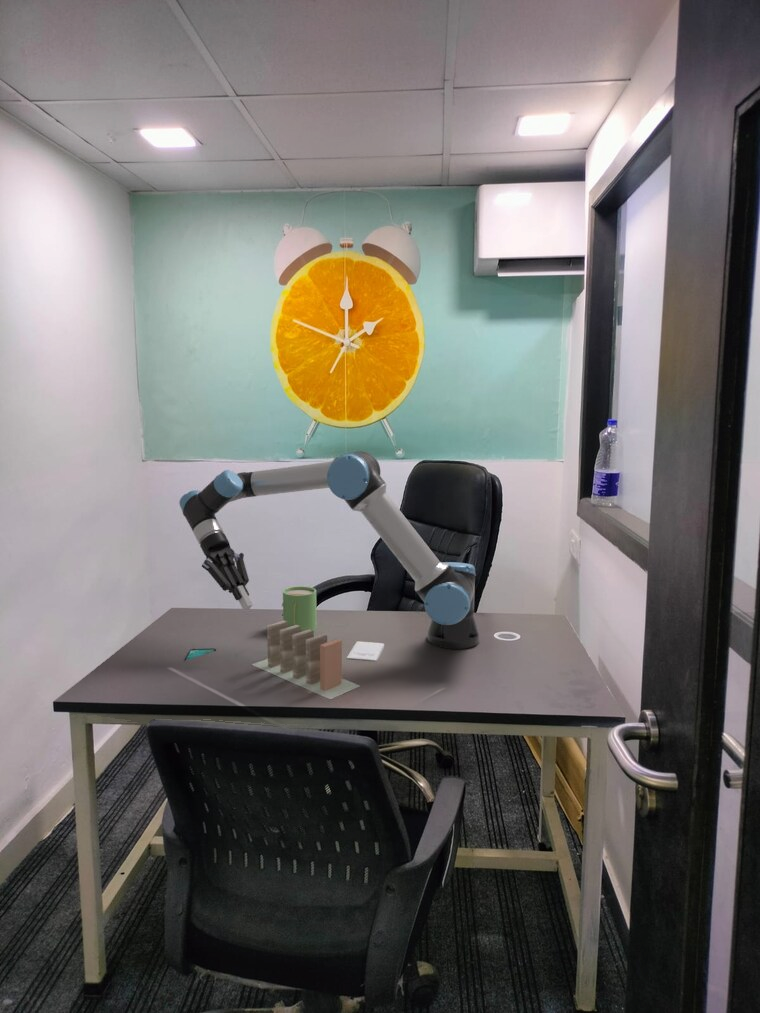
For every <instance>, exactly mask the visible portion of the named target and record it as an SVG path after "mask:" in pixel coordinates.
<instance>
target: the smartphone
mask: <svg viewBox="0 0 760 1013" xmlns="http://www.w3.org/2000/svg"><path fill="white" fill-rule="evenodd" d="M216 650H217V649H216V648H192V649H190V650H189V651H188V653H187V654H186V657H184V658H185V659H184V661H188V660H191V659H193V658H194V659H195V658H197V657H201V656H204V655H207V654H210V653H213V652H216Z"/></svg>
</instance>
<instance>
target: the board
mask: <svg viewBox="0 0 760 1013" xmlns="http://www.w3.org/2000/svg"><path fill="white" fill-rule="evenodd" d="M251 665H252V666H253V667H256V668H258V669H260V670H263V671H265V672H268V673H270V674H271V675H274V676H276V677H279V678H281V679H284V680H285V681H288V682H290V683H292V684H294V685H297V686H299V687H302V688H304V689H306V690H308V691H310V692H313V693H315V694H317V695H319V696H321V697H323V698H326V699H328V700H333V699H335V698H337V697H339V696H341V695H344V694H345V693H348V692H350V691H352V690H355V689H357V688H359V687H360V685H359V684H357V683H355V682H352V681H349V680H347V679H344V678H342V684H340V685H338V686H335V687H333V688H331V689H328V690H326V691H324V690H322V689H320V681H318V682H316V683H314V684H311V685H310V684H308V683H306V676H303V677H301V678H298V679H296V678H294V677H293V670H292V671H289V672H287V673H282V672H280V665H278V666H276V667H273V668H271V667H269V666H268V658H265V659H263V660H260V661H258V662H253V663H251Z"/></svg>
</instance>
